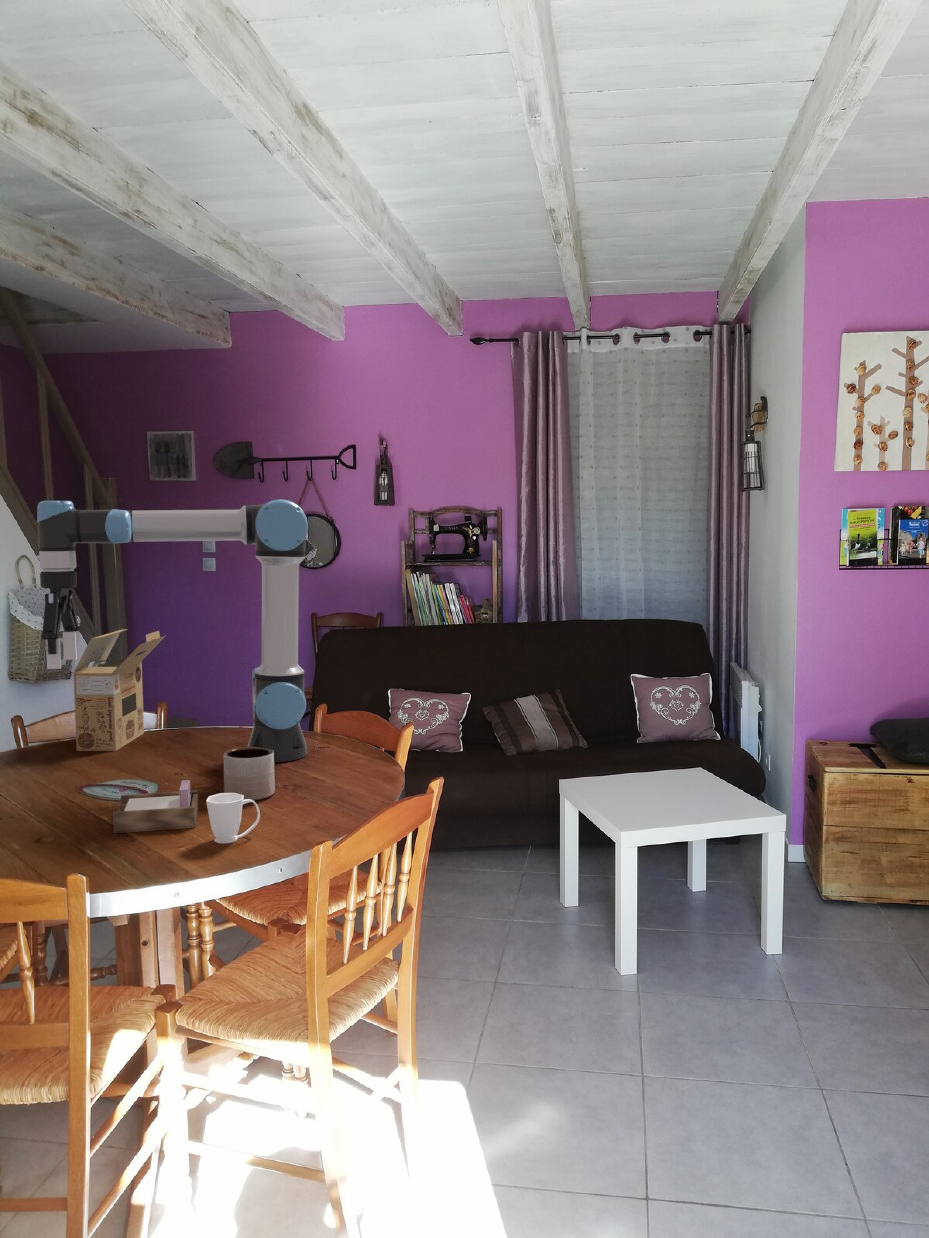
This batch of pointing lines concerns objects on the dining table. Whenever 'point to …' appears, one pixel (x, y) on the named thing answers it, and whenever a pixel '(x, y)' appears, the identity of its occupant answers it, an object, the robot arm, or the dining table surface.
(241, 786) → the planter
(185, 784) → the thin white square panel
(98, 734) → the box
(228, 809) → the cup
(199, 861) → the dining table surface
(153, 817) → the pencil case
